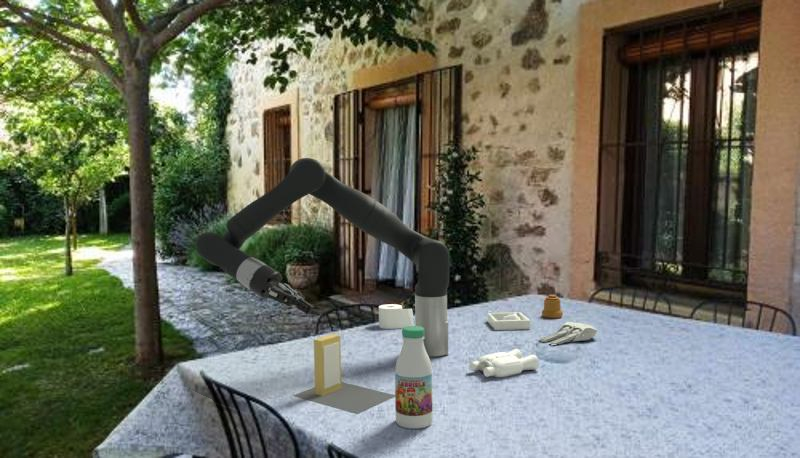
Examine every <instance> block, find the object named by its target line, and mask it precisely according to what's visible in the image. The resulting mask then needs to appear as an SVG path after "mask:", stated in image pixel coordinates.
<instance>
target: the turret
mask: <svg viewBox="0 0 800 458" xmlns="http://www.w3.org/2000/svg"><path fill="white" fill-rule="evenodd" d="M597 332H598V330H597V329H596V328H595V327H594V326H593V325H591V324H586V323H578V322H572V321H566V322H564V323H563V325H562V326H561V327H560V328H559V329H558V330H557V331H556V332H554V333H553V334H550V335H547V336H544V337H542V338H539V339H538V342H539V343H541V342H542V343H541V344H544V343H543V342H546V343H551V344H559V345H562V344H565V343H568V342H569V343H575V342H576V343H577V342H581V341H588V340H590V339H592V338H593V337H595V336H596V334H597Z"/></svg>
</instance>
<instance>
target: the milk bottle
mask: <svg viewBox="0 0 800 458" xmlns="http://www.w3.org/2000/svg"><path fill="white" fill-rule="evenodd" d="M401 336H402V338H401V339H402V340H403V341H402V342H403V343H402V347H401V349H400V353H399V355H398V357H397V359H396V363H395V372H394V373H395V374H394V377H395V378H394V380H395V382H394V387H395V388H394V392H395V393H394V395H395V397H394V398H395V422H396V424H397V425H398V426H399V427H401V428H405V429H410V430H411V429H413V430H415V429H417V430H418V429H424V428H427V427H430V426H431V425H432V423H433V417H434V414H433V411H434V410H433V409H434V404H433V403H434V400H433V398H434V397H433V369H432V363H431V359H430V357H429V356H428V354H427V352H426V350H425V347H424V343H423V339H424V328H423V327H420V326H415V325H413V326H407V327H404V328H401Z"/></svg>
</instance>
